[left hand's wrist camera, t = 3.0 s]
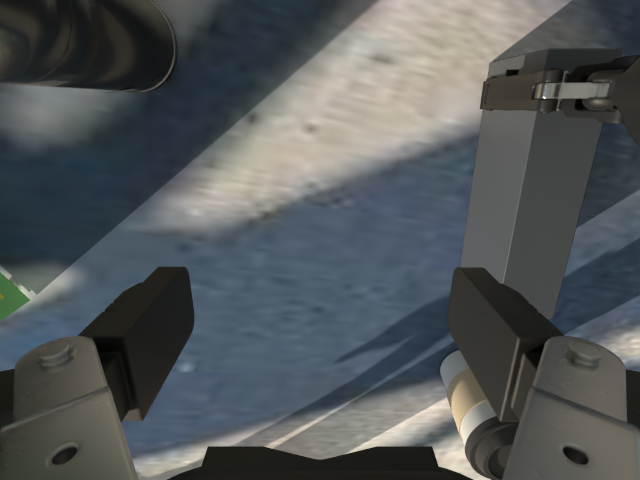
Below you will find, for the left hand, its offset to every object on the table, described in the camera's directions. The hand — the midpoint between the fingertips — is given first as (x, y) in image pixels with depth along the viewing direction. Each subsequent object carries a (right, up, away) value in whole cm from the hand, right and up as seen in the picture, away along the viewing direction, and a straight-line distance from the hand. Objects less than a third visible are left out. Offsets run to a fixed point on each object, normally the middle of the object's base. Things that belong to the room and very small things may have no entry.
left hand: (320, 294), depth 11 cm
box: (+21, +9, +32) cm, 39 cm away
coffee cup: (+20, -16, +41) cm, 49 cm away
